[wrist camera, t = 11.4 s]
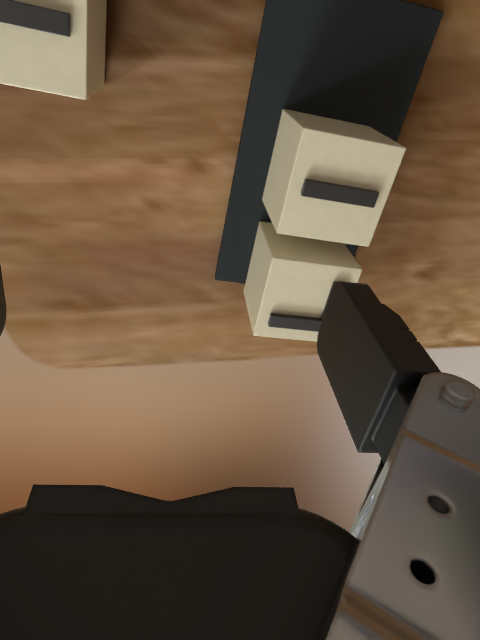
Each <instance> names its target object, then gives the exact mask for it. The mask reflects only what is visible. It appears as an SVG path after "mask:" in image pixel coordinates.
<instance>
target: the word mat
mask: <svg viewBox="0 0 480 640" xmlns="http://www.w3.org/2000/svg"><path fill="white" fill-rule="evenodd" d="M442 15H443V11H440V10H436V9H432V8H429V7H425V6H421V5H417V4H414V3H410V2H406V1H402V0H266V4H265V9H264V15H263V20H262V26H261V31H260V36H259V42H258V47H257V53H256V58H255V63H254V69H253V74H252V79H251V85H250V90H249V96H248V101H247V106H246V112H245V117H244V123H243V128H242V133H241V139H240V144H239V149H238V155H237V160H236V166H235V171H234V176H233V182H232V187H231V193H230V198H229V203H228V209H227V214H226V219H225V225H224V230H223V236H222V241H221V246H220V252H219V257H218V263H217V268H216V273H215V280H221V281H229V282H237V283H246V278H247V274H248V270H249V265H250V261H251V256H252V252H253V247H254V243H255V239H256V234H257V230H258V225H259V222H260V221H261V222H268V223H272V221H271V219H270V217H269V214H268V212H267V210H266V208H265V205H264V203H263V201H262V198H263V193H264V189H265V185H266V180H267V176H268V171H269V167H270V163H271V158H272V154H273V149H274V145H275V140H276V136H277V132H278V127H279V123H280V118H281V114H282V110H283V109H287V110H292V111H297V112H301V113H306V114H311V115H316V116H321V117H326V118H331V119H336V120H341V121H345V122H350V123H355V124H360V125H365V126H369V127H371V128H373V129H374V130H376V131H378V132H380V133H381V134H383V135H385V136H387V137H388V138H390V139H392V140H394V141H395V142H396V141H397V138H398V135H399V132H400V130H401V127H402V124H403V122H404V119H405V116H406V113H407V111H408V108H409V105H410V102H411V100H412V97H413V94H414V91H415V89H416V86H417V83H418V81H419V78H420V75H421V72H422V70H423V67H424V64H425V61H426V59H427V56H428V53H429V50H430V48H431V45H432V42H433V40H434V37H435V34H436V31H437V29H438V26H439V23H440V20H441V18H442ZM344 244H345V245H346V247H347V248H348V250H349V251H350V252H351V254H352V255H353V257H354V255H355V253H356V250H357V247H358V245H353V244H346V243H344Z"/></svg>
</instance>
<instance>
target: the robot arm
mask: <svg viewBox="0 0 480 640" xmlns="http://www.w3.org/2000/svg"><path fill="white" fill-rule="evenodd" d="M5 321H6V302H5V295H4V288H3V281H2V273H1V266H0V335H1V333H2V331H3V329H4V326H5ZM317 350H318V355H319V357H320V360H321V362H322V365H323V367H324V369H325V372H326V375H327V377H328V379H329V381H330V384H331V387H332V389H333V392H334V394H335V397H336V399H337V402H338V404H339V406H340V409H341V411H342V413H343V416H344V419H345V421H346V424H347V426H348V429H349V431H350V434H351V436H352V438H353V441H354V443H355V446H356V448H357V450H358V452H364V453H379V455H380V457H381V461H380V463H379V465H378V467H377V469H376V471H375V473H374V475H373V478H372V480H371V483H370V485H369V487H368V490H367V492H366V494H365V497H364V500H363V502H362V504H361V506H360V509H359V511H358V513H357V516H356V518H355V520H354V523H353V525H352V527H351V530H350V532H348V531H346V530H345V529H343V528H342V527H340V526H338V525H337V524H335V523H334V522H332V521H330V520H328V519H326V518H324V517H322V516H320V515H318V514H315V513H312V512H309V511H307V510H304V509H300V508H298V505H297V501H296V496H295V492H294V488H279V487H273V488H272V487H232V488H228V489H224V490H219V491H215V492H210V493H206V494H202V495H198V496H193V497H189V498H184V499H180V500H175V501H165V500H160V499H156V498H151V497H147V496H143V495H139V494H134V493H131V492H127V491H123V490H119V489H114V488H111V487H106V486H102V485H33V487H32V490H31V493H30V496H29V499H28V502H27V506H26V507H22V508H18V509H15V510H11V511H8V512H5V513H2V514H0V640H480V389H479V388H478V387H476V386H475V385H474V384H472V383H470V382H468V381H467V380H465V379H462V378H460V377H457V376H455V375H452V374H448V373H442V372H441V371H440V370H439V369H438V367H437V366H436V364H435V363H434V362H433V360H432V359H431V358H430V356H429V355H428V354H427V352H426V351H425V349H424V348H423V347H422V345H421V344H420V343H419V342H417V339H416V337H415V336H414V335H413V333H412V332H411V331H409V328H408V326H407V325H406V324H405V322H404V321H403V320H402V318H401V317H400V316H399V315H398V314H396V313H395V312H394V311H392V310H391V309H390V308H388V307H387V306H386V305H384V304H381V302H380V301H379V300H378V298H377V297H376V295H375V294H374V293H373V291H372V290H371V288H370V287H369V286H368V285H367V284H362V283H352V282H342V281H338V282H336V283H335V284H334V286H333V288H332V291H331V294H330V297H329V300H328V303H327V306H326V310H325V313H324V316H323V319H322V322H321V325H320V329H319V332H318V337H317Z"/></svg>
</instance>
